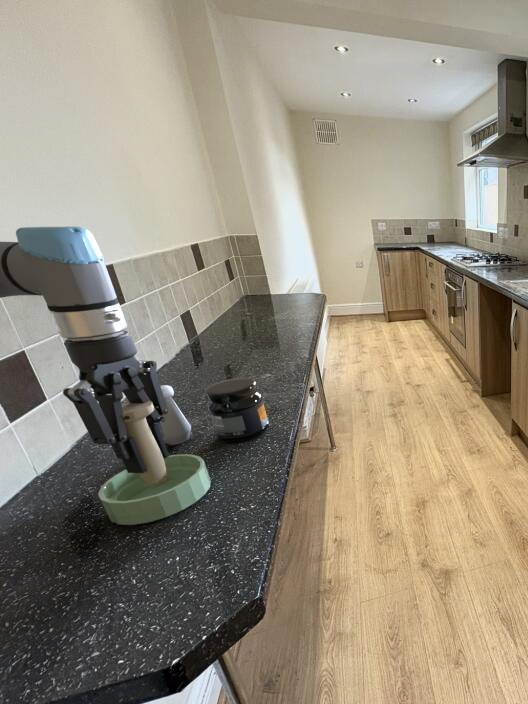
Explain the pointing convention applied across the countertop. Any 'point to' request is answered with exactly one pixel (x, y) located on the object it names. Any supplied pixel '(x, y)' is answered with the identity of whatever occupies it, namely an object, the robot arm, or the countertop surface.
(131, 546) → the countertop surface
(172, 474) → the bowl
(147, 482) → the handle
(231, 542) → the countertop surface
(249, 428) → the supplement container
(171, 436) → the salt shaker
